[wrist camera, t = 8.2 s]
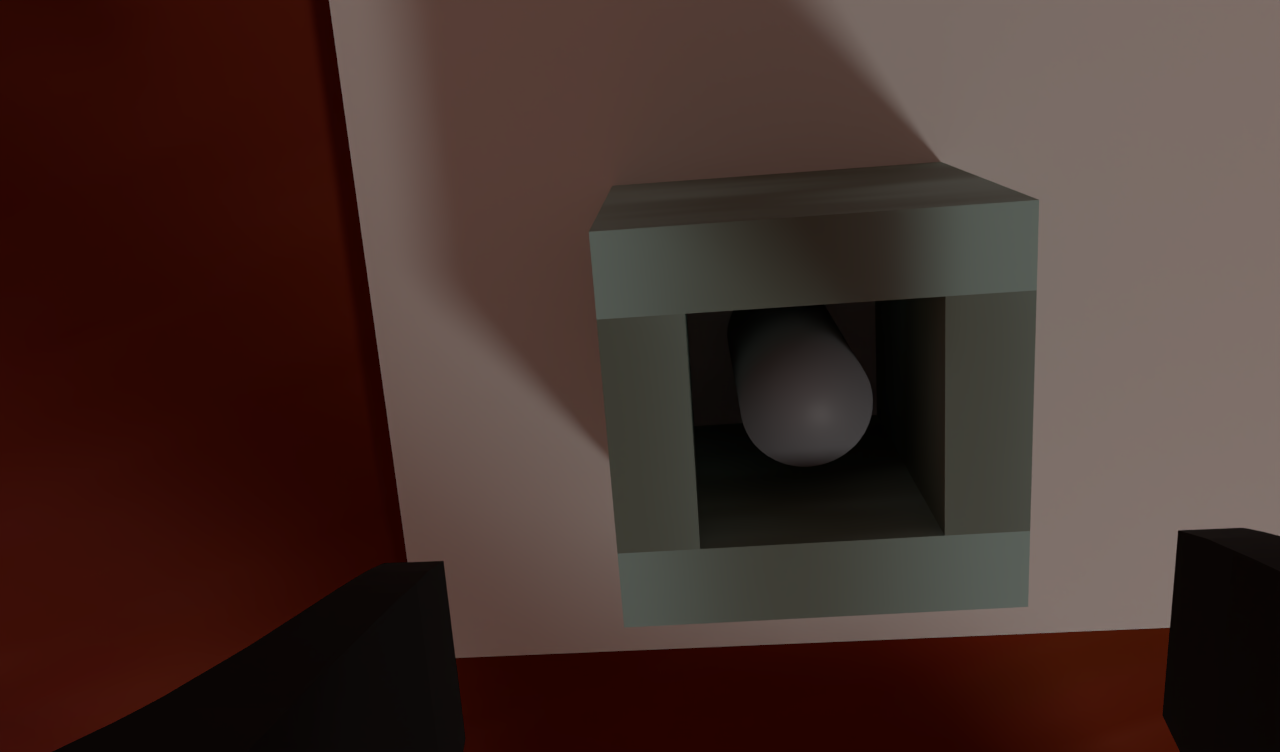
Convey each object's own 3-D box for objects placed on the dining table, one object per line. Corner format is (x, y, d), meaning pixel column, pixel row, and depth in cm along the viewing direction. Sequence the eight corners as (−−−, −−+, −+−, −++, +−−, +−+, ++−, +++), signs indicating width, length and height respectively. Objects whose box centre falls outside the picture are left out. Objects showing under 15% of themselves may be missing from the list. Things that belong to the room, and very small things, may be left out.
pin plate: (1520, -538, 15) (1879, -792, 11) (1368, 597, 20) (1570, 752, 16) (285, -421, 16) (132, -610, 12) (430, 637, 21) (362, 796, 17)
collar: (940, 162, 18) (1039, 199, 13) (940, 469, 19) (1027, 606, 14) (612, 185, 18) (588, 232, 13) (637, 487, 19) (624, 627, 15)
